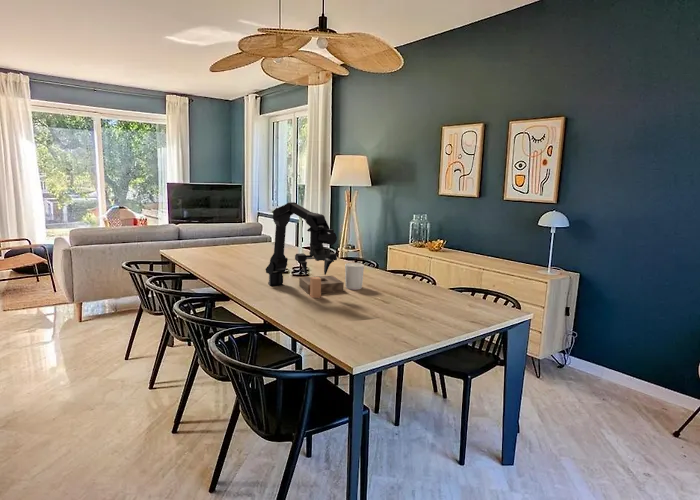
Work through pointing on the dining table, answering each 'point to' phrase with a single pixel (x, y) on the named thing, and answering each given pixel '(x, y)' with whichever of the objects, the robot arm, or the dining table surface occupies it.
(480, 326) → the dining table surface
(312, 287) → the peg
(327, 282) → the socket block
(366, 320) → the dining table surface
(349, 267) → the candle holder
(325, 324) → the dining table surface
